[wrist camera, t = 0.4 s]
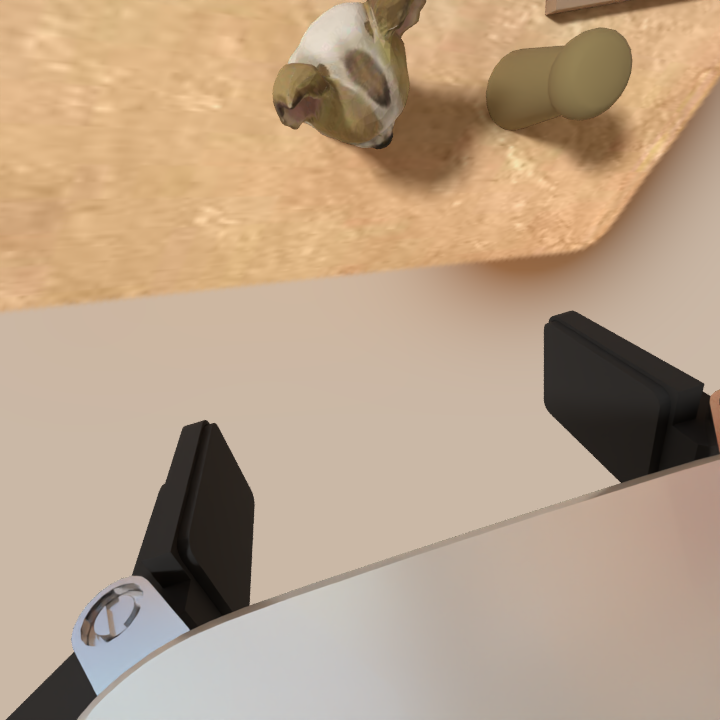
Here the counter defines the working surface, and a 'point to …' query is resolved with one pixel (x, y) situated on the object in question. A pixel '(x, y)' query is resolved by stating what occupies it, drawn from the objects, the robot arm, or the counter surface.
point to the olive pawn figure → (560, 80)
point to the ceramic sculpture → (350, 72)
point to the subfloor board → (574, 5)
